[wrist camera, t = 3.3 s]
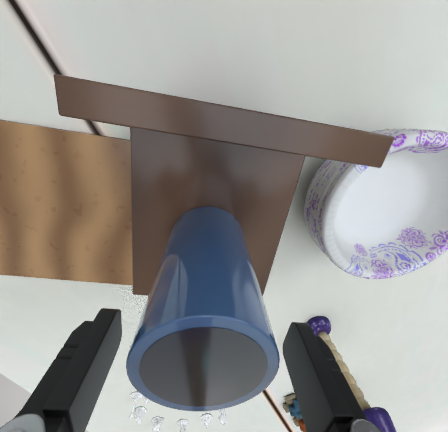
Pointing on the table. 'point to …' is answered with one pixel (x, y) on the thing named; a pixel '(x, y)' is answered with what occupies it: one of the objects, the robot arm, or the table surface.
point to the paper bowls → (383, 207)
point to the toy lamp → (373, 415)
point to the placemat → (65, 205)
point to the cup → (204, 320)
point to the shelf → (211, 163)
